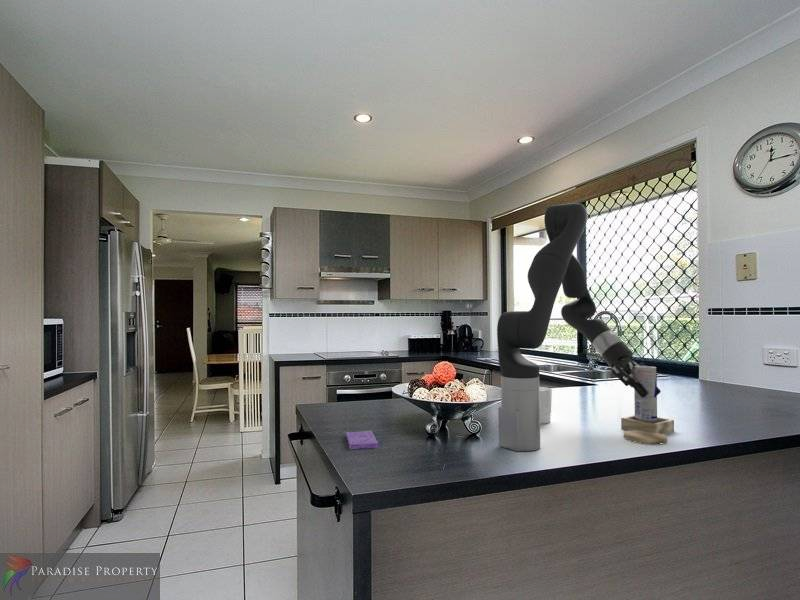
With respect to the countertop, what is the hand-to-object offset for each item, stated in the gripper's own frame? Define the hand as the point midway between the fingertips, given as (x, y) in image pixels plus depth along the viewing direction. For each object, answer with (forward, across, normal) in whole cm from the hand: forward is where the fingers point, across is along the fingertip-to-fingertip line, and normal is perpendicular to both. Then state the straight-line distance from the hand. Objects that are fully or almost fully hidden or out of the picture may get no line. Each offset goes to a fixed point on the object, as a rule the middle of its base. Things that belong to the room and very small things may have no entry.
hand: (651, 394), depth 130 cm
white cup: (-11, -16, +26) cm, 32 cm away
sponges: (-17, -72, +34) cm, 81 cm away
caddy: (+6, 0, +8) cm, 10 cm away
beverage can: (+4, 0, +6) cm, 8 cm away
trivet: (+10, -10, +5) cm, 14 cm away
